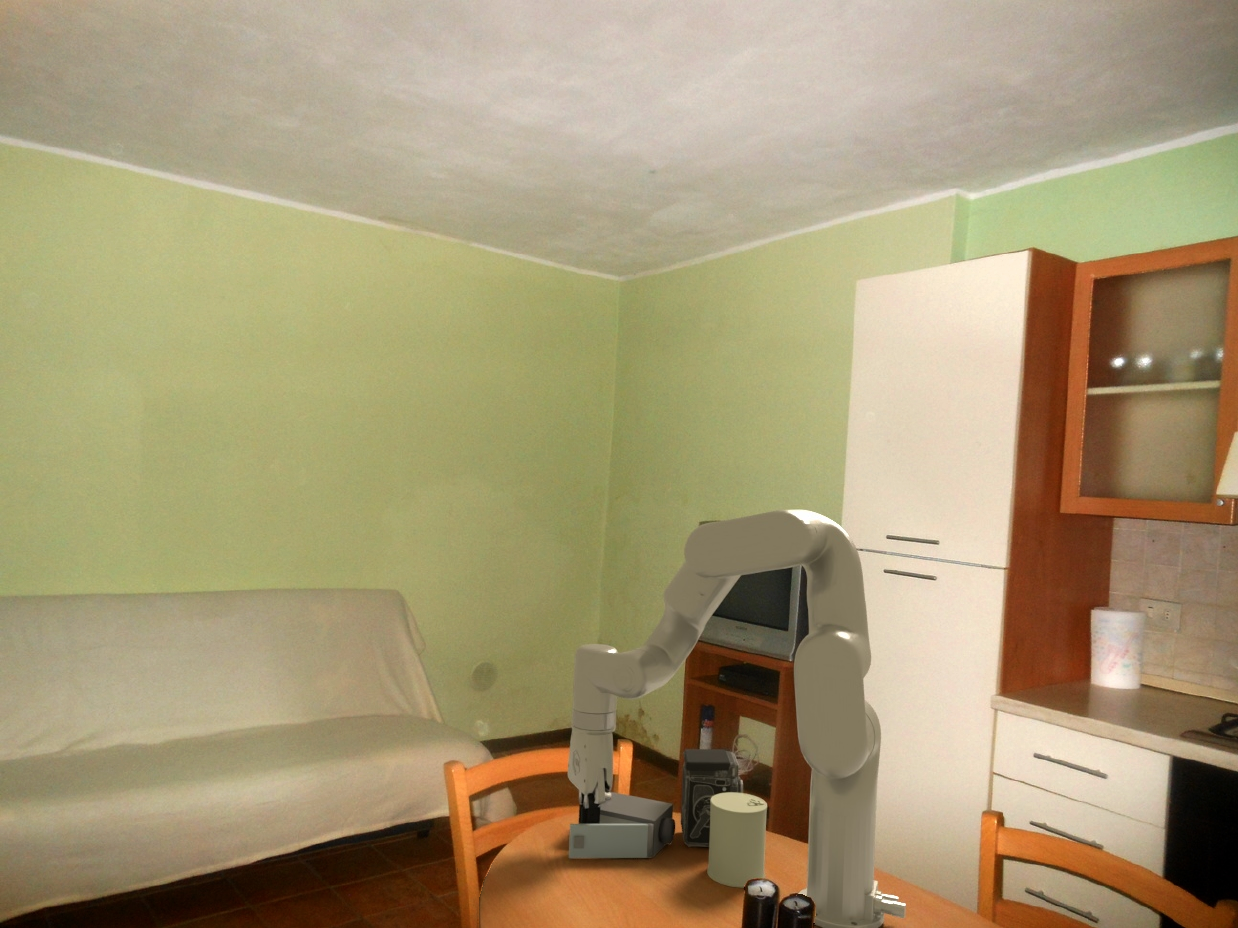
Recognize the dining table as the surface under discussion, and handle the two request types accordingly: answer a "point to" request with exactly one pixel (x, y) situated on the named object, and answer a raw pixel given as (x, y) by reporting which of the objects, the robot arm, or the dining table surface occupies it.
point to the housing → (640, 816)
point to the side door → (611, 840)
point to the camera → (705, 789)
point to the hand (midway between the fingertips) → (588, 828)
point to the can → (736, 838)
